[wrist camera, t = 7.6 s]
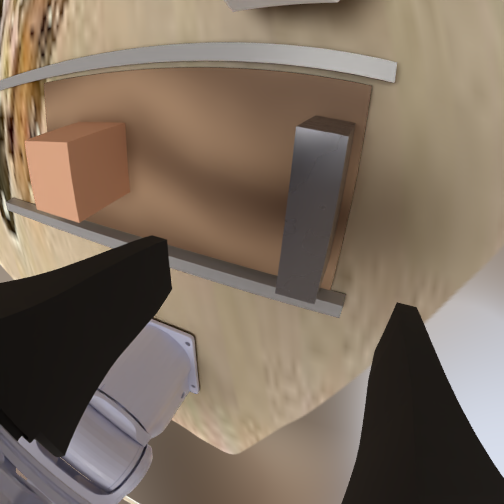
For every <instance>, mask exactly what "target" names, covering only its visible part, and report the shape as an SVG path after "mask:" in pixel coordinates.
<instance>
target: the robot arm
mask: <svg viewBox="0 0 504 504" xmlns="http://www.w3.org/2000/svg"><path fill="white" fill-rule="evenodd" d="M171 290H172V285H171V275H170V265H169V255H168V243H167V239H164V238H160V237H157V236H153V235H151V236H147V237H144V238H141V239H138V240H135V241H132V242H129V243H127V244H124V245H121V246H119V247H116V248H113V249H111V250H108V251H106V252H103V253H101V254H98V255H95V256H93V257H90V258H87V259H85V260H82V261H79V262H76V263H74V264H71V265H68V266H65V267H62V268H59V269H56V270H53V271H50V272H46V273H43V274H39V275H36V276H32V277H27V278H23V279H18V280H13V281H9V282H4V283H0V504H118V503H119V502H120V501H121V499H123V497H124V496H126V495H127V494H129V493H130V492H131V491H132V490H133V489H134V488H135V487H136V486H137V485H138V484H139V483H140V481H141V480H142V479H143V477H144V476H145V474H146V472H147V470H148V469H149V467H150V464H151V462H152V458H153V455H152V447H151V446H150V445H149V444H147V443H148V441H149V440H150V438H153V437H155V436H157V435H159V434H160V433H162V431H164V429H165V428H166V427H167V425H168V424H169V422H170V420H171V419H172V417H173V416H174V414H175V413H176V411H177V410H178V408H179V407H180V405H181V404H182V402H183V401H184V399H185V397H186V396H187V394H188V393H189V391H190V392H192V393H195V394H198V393H199V391H200V390H199V381H198V372H197V362H196V352H195V341H194V337H193V336H192V335H190V334H188V333H186V332H183V331H181V330H178V329H175V328H173V327H171V326H168V325H166V324H163V323H161V322H158V321H156V320H153V319H152V318H153V317H154V316H155V314H156V313H157V312H158V310H159V309H160V307H161V306H162V304H163V303H164V301H165V300H166V298H167V296H168V295H169V293H170V292H171ZM60 457H61V458H62V459H64V460H65V461H66V462H67V463H69V464H70V465H71V466H72V467H74V468H75V469H76V470H77V471H79V472H80V473H81V474H83V475H84V476H86V477H87V478H88V479H89V480H88V479H86V478H85V477H84V476H82V475H81V474H80V473H78V472H77V471H76V470H75V469H73V468H72V467H71V466H70V465H68V464H67V463H66V462H65V461H63V460H62V459H61V458H60ZM16 468H17V469H18V470H19V471H20V472H21V473H22V474H23V475H25V477H26V478H27V480H25V479H23V478H22V477H21V476H19V475H18V474H17V473H16ZM90 480H91V481H90ZM342 504H504V478H503V476H502V475H501V474H500V472H499V471H498V469H497V468H496V466H495V465H494V463H493V462H492V460H491V459H490V457H489V455H488V454H487V452H486V450H485V449H484V447H483V446H482V444H481V442H480V441H479V439H478V437H477V436H476V434H475V432H474V431H473V429H472V427H471V425H470V423H469V421H468V419H467V417H466V415H465V414H464V412H463V410H462V408H461V406H460V404H459V402H458V400H457V398H456V396H455V394H454V392H453V390H452V388H451V385H450V383H449V381H448V379H447V377H446V375H445V373H444V370H443V368H442V366H441V363H440V361H439V359H438V357H437V354H436V352H435V349H434V347H433V345H432V342H431V340H430V338H429V335H428V333H427V331H426V328H425V325H424V323H423V321H422V318H421V316H420V314H419V312H418V309H417V307H413V306H409V305H405V304H401V303H398V302H397V304H396V306H395V308H394V311H393V313H392V315H391V317H390V320H389V322H388V324H387V326H386V328H385V330H384V333H383V335H382V337H381V339H380V341H379V343H378V345H377V347H376V349H375V352H374V357H373V361H372V366H371V371H370V375H369V380H368V387H367V396H366V404H365V412H364V419H363V427H362V432H361V439H360V445H359V450H358V454H357V458H356V462H355V465H354V469H353V472H352V475H351V478H350V481H349V484H348V487H347V490H346V493H345V496H344V498H343V501H342Z"/></svg>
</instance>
